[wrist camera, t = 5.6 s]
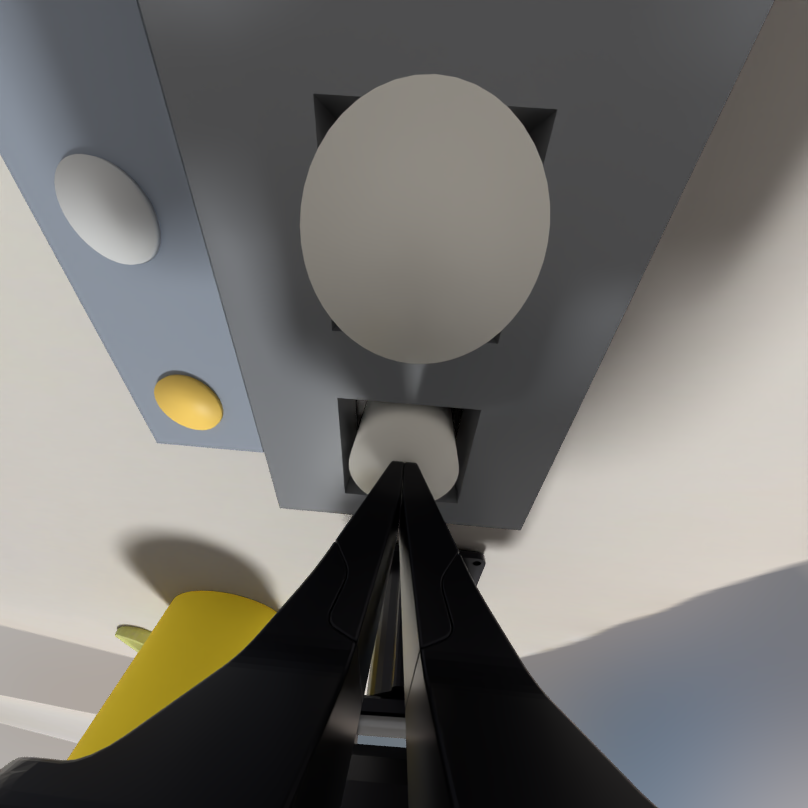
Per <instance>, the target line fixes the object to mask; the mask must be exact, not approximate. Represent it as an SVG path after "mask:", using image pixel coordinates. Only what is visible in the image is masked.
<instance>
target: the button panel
mask: <svg viewBox="0 0 808 808" xmlns="http://www.w3.org/2000/svg"><path fill="white" fill-rule="evenodd" d="M138 1H139V5H140V8H141V12H142V15H143V19H144V23H145V26H146V30H147V33H148V37H149V41H150V44H151V48H152V51H153V55H154V58H155V62H156V66H157V69H158V73H159V76H160V80H161V84H162V87H163V91H164V94H165V98H166V101H167V105H168V109H169V112H170V116H171V119H172V123H173V127H174V130H175V134H176V137H177V141H178V144H179V148H180V152H181V155H182V159H183V162H184V166H185V170H186V173H187V177H188V180H189V184H190V187H191V191H192V195H193V198H194V202H195V205H196V209H197V213H198V216H199V220H200V223H201V227H202V230H203V234H204V238H205V241H206V245H207V248H208V252H209V256H210V259H211V263H212V266H213V270H214V273H215V277H216V281H217V284H218V288H219V291H220V295H221V299H222V302H223V306H224V309H225V313H226V316H227V320H228V324H229V327H230V331H231V334H232V338H233V342H234V345H235V349H236V352H237V356H238V359H239V363H240V367H241V370H242V374H243V377H244V381H245V385H246V388H247V392H248V395H249V399H250V402H251V406H252V410H253V413H254V417H255V420H256V424H257V428H258V431H259V435H260V438H261V442H262V446H263V449H264V453H265V456H266V460H267V463H268V467H269V471H270V474H271V478H272V481H273V485H274V489H275V492H276V496H277V499H278V503H279V506H280V508H286V509H296V510H307V511H318V512H329V513H339V514H350V515H354V513H355V512H356V511H357V509H358V508H359V506H360V505H361V504H362V502H363V501H364V499H365V498H366V496H367V495H368V494H366V493H365V492H364V491H363V490H361V489H360V488H359V487H358V485H357V484H356V483H355V481H354V480H353V478H352V476H351V473H350V470H349V458H350V454H351V451H352V448H353V445H354V441H355V438H356V435H357V421H356V399H357V400H369V401H381V402H392V403H404V404H416V405H428V406H440V407H451V408H463V410H462V415H461V420H460V424H459V429H458V434H457V439H456V449H457V456H458V464H459V473H458V477H457V480H456V482H455V484H454V486H453V487H452V488H451V489H450V490H449V491H448V492H447V493H446V494H445V495H444V496H442V497H440V498H439V499H437V500H435V502H436V504H437V506H438V508H439V510H440V512H441V515H442V517H443V519H444V521H445V523H447V524H458V525H469V526H479V527H490V528H501V529H512V530H521V528H522V526H523V524H524V522H525V520H526V518H527V516H528V514H529V512H530V510H531V508H532V505H533V503H534V501H535V499H536V497H537V495H538V493H539V491H540V489H541V487H542V485H543V482H544V480H545V478H546V476H547V474H548V472H549V470H550V468H551V466H552V464H553V462H554V460H555V457H556V455H557V453H558V451H559V449H560V447H561V445H562V443H563V441H564V439H565V437H566V434H567V432H568V430H569V428H570V426H571V424H572V422H573V420H574V418H575V416H576V414H577V412H578V409H579V407H580V405H581V403H582V401H583V399H584V397H585V395H586V393H587V391H588V389H589V387H590V384H591V382H592V380H593V378H594V376H595V374H596V372H597V370H598V368H599V366H600V364H601V361H602V359H603V357H604V355H605V353H606V351H607V349H608V347H609V345H610V343H611V341H612V339H613V336H614V334H615V332H616V330H617V328H618V326H619V324H620V322H621V320H622V318H623V316H624V313H625V311H626V309H627V307H628V305H629V303H630V301H631V299H632V297H633V295H634V293H635V291H636V288H637V286H638V284H639V282H640V280H641V278H642V276H643V274H644V272H645V270H646V268H647V266H648V263H649V261H650V259H651V257H652V255H653V253H654V251H655V249H656V247H657V245H658V243H659V240H660V238H661V236H662V234H663V232H664V230H665V228H666V226H667V224H668V222H669V220H670V218H671V215H672V213H673V211H674V209H675V207H676V205H677V203H678V201H679V199H680V197H681V195H682V193H683V190H684V188H685V186H686V184H687V182H688V180H689V178H690V176H691V174H692V172H693V170H694V167H695V165H696V163H697V161H698V159H699V157H700V155H701V153H702V151H703V149H704V147H705V145H706V142H707V140H708V138H709V136H710V134H711V132H712V130H713V128H714V126H715V124H716V122H717V119H718V117H719V115H720V113H721V111H722V109H723V107H724V105H725V103H726V101H727V99H728V97H729V94H730V92H731V90H732V88H733V86H734V84H735V82H736V80H737V78H738V76H739V74H740V72H741V69H742V67H743V65H744V63H745V61H746V59H747V57H748V55H749V53H750V51H751V49H752V46H753V44H754V42H755V40H756V38H757V36H758V34H759V32H760V30H761V28H762V26H763V24H764V21H765V19H766V17H767V15H768V13H769V11H770V9H771V7H772V5H773V3H774V1H775V0H138ZM423 74H439V75H445V76H451V77H457V78H460V79H462V80H465V81H468V82H471V83H473V84H476V85H478V86H480V87H481V88H483V89H485V90H486V91H488V92H490V93H491V94H493V95H494V96H496V97H497V98H498V99H499V100H500V101H501V102H503V103H504V104H505V105H506V106H507V107H508V108H509V109H510V110H511V111H512V112H513V113H514V114H515V116H516V117H517V118H518V119H519V120H520V122H521V123H522V124H523V125H524V127H525V129H526V130H527V132H528V134H529V135H530V137H531V139H532V141H533V142H534V144H535V146H536V149H537V151H538V154H539V156H540V159H541V161H542V164H543V168H544V172H545V176H546V179H547V183H548V191H549V199H550V229H549V237H548V245H547V249H546V253H545V257H544V262H543V264H542V267H541V270H540V273H539V276H538V278H537V281H536V283H535V285H534V287H533V289H532V291H531V293H530V295H529V296H528V298H527V300H526V301H525V303H524V304H523V306H522V308H521V309H520V310H519V312H518V313H517V314H516V315H515V317H514V318H513V319H512V320H511V322H510V323H509V324H508V325H507V326H506V327H505V328H504V329H503V330H502V331H501V332H500V333H498V334H497V335H496V336H495V337H493V338H492V339H491V340H490V341H488V342H487V343H485V344H484V345H482V346H481V347H479V348H477V349H476V350H474V351H472V352H470V353H467V354H465V355H463V356H460V357H457V358H455V359H452V360H448V361H443V362H439V363H429V364H411V363H404V362H398V361H394V360H391V359H387V358H384V357H382V356H379V355H377V354H374V353H373V352H371V351H369V350H367V349H365V348H363V347H362V346H360V345H359V344H358V343H356V342H355V341H353V340H352V339H351V338H350V337H349V336H347V335H346V334H345V333H344V332H343V331H342V330H341V329H340V328H339V327H338V326H337V325H336V323H335V322H334V321H333V320H332V319H331V318H330V316H329V315H328V313H327V312H326V310H325V309H324V308H323V306H322V304H321V302H320V301H319V299H318V297H317V295H316V293H315V291H314V289H313V286H312V284H311V281H310V279H309V276H308V273H307V269H306V266H305V262H304V258H303V252H302V246H301V235H300V212H301V202H302V196H303V190H304V185H305V182H306V178H307V175H308V171H309V168H310V165H311V163H312V161H313V158H314V156H315V154H316V151H317V149H318V147H319V146H320V144H321V142H322V141H323V139H324V137H325V136H326V134H327V132H328V131H329V129H330V128H331V127H332V125H333V124H334V123H335V122H336V121H337V119H338V118H339V117H340V116H341V114H342V113H343V112H344V111H346V110H347V109H348V108H349V107H350V106H351V105H352V104H353V103H354V102H355V101H357V100H358V99H359V98H361V97H362V96H364V95H365V94H367V93H368V92H370V91H371V90H373V89H374V88H376V87H378V86H381V85H383V84H385V83H388V82H390V81H392V80H395V79H399V78H403V77H408V76H412V75H423ZM400 509H401V507H400Z"/></svg>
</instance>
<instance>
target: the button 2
mask: <svg viewBox="0 0 808 808" xmlns="http://www.w3.org/2000/svg"><path fill="white" fill-rule="evenodd" d="M391 461H402V462H404V463H405V462H414V463H417V464H418V466H419V468H420V470H421V472H422V474H423V477H424V479H425V481H426V483H427V485H428V487H429V489H430V491H431V493H432V496H433V498H434V500H437V499H439V498H440V497H442V496H444V495H445V494H446V493H447V492H448V491H449V490H450V489H451V488H452V487H453V486H454V484H455V482H456V480H457V477H458V473H459V464H458V456H457V449H456V442H455V435H454V427H453V420H452V413H451V408H450V407H440V406H428V405H416V404H404V403H392V402H381V401H369V400H368V401H367V404H366V407H365V410H364V413H363V416H362V420H361V423H360V426H359V429H358V432H357V435H356V438H355V441H354V445H353V448H352V451H351V454H350V458H349V470H350V473H351V476H352V478H353V480H354V481H355V483H356V484H357V485H358V487H359V488H360V489H361V490H363V491H364V492H365V493H366V494H369V492H370V491H371V489H372V488H373V487H374V485H375V484H376V482H377V481H378V479H379V478H380V477H381V475H382V474H383V472H384V471H385V470H386V468H387V467H388V465H389V464H390V462H391ZM403 473H404V471H403ZM402 485H403V483H402ZM401 497H402V495H401Z"/></svg>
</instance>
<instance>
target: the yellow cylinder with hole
mask: <svg viewBox="0 0 808 808" xmlns="http://www.w3.org/2000/svg"><path fill="white" fill-rule="evenodd" d="M276 613H277V612H276V611H275V610H273V609H271V608H270V607H268V606H266V605H264V604H261V603H259V602H257V601H254V600H251V599H248V598H245V597H242V596H238V595H234V594H229V593H224V592H216V591H191V592H186V593H182V594H180V595H178V596H176V597H175V598H174V599H173V601H172V602H171V604H170V605H169V607H168V608H167V610H166V611H165V613H164V614H163V616H162V617H161V619H160V620H159V622H158V623H157V625H156V626H155V628H154V629H153V631H152V632H151V634H150V635H149V637H148V639H147V640H146V642H145V643H144V645H143V646H142V648H141V649H140V651H139V652H138V654H137V655H136V657H135V658H134V660H133V661H132V663H131V664H130V666H129V667H128V669H127V670H126V672H125V673H124V675H123V676H122V678H121V679H120V681H119V682H118V684H117V685H116V687H115V688H114V690H113V691H112V693H111V694H110V696H109V697H108V699H107V700H106V702H105V703H104V705H103V706H102V708H101V709H100V711H99V713H98V714H97V715H96V717H95V718H94V720H93V721H92V723H91V724H90V726H89V727H88V729H87V730H86V732H85V734H84V735H83V737H82V738H81V740H80V741H79V743H78V744H77V746H76V747H75V749H74V750H73V752H72V753H71V755H70V756H69V758H68V759H67V760H75V759H78V758H82V757H85V756H88V755H91V754H93V753H95V752H97V751H99V750H101V749H103V748H105V747H107V746H109V745H111V744H112V743H114V742H115V741H117V740H119V739H120V738H122V737H123V736H125V735H126V734H128V733H129V732H131V731H132V730H133V729H135V728H136V727H138V726H139V725H140V724H142V723H143V722H145V721H146V720H148V719H149V718H150V717H152V716H153V715H155V714H156V713H157V712H159V711H160V710H162V709H163V708H164V707H166V706H167V705H169V704H170V703H172V702H173V701H174V700H176V699H177V698H179V697H180V696H181V695H183V694H184V693H186V692H187V691H188V690H190V689H191V688H193V687H194V686H196V685H197V684H198V683H200V682H201V681H203V680H204V679H205V678H207V677H208V676H210V675H211V674H213V673H214V672H215V671H217V670H218V669H220V668H221V667H222V666H224V665H225V664H226V663H228V662H229V661H230V660H231V659H233V658H234V657H235V656H236V655H237V654H239V653H240V652H241V651H242V650H243V649H244V648H245V647H246V646H247V645H248V644H249V643H250V642H251V641H252V640H253V639H254V638H255V637H256V635H257V634H258V633H259V632H260V631H261V630H262V629H263V628H264V627H265V625H266V624H267V623H268V622H269V621H270V620H271V619H272V617H273V616H274V615H275V614H276Z"/></svg>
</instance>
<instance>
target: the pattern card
mask: <svg viewBox="0 0 808 808" xmlns="http://www.w3.org/2000/svg"><path fill="white" fill-rule="evenodd" d="M0 155H1V156H2V158H3V160H4V162H5V164H6V166H7V167H8V169H9V171H10V173H11V175H12V177H13V178H14V180H15V182H16V184H17V186H18V188H19V190H20V191H21V193H22V195H23V197H24V199H25V201H26V202H27V204H28V206H29V208H30V210H31V212H32V213H33V215H34V217H35V219H36V221H37V223H38V224H39V226H40V228H41V230H42V232H43V234H44V236H45V237H46V239H47V241H48V243H49V245H50V247H51V248H52V250H53V252H54V254H55V256H56V258H57V259H58V261H59V263H60V265H61V267H62V269H63V271H64V272H65V274H66V276H67V278H68V280H69V282H70V283H71V285H72V287H73V289H74V291H75V293H76V294H77V296H78V298H79V300H80V302H81V304H82V306H83V307H84V309H85V311H86V313H87V315H88V317H89V318H90V320H91V322H92V324H93V326H94V328H95V329H96V331H97V333H98V335H99V337H100V339H101V341H102V342H103V344H104V346H105V348H106V350H107V352H108V353H109V355H110V357H111V359H112V361H113V363H114V364H115V366H116V368H117V370H118V372H119V374H120V375H121V377H122V379H123V381H124V383H125V385H126V387H127V388H128V390H129V392H130V394H131V396H132V398H133V399H134V401H135V403H136V405H137V407H138V409H139V410H140V412H141V414H142V416H143V418H144V420H145V422H146V423H147V425H148V427H149V429H150V431H151V433H152V434H153V436H154V438H155V440H156V442H157V443H162V444H173V445H185V446H196V447H207V448H218V449H230V450H241V451H252V452H264V449H263V446H262V442H261V438H260V435H259V431H258V428H257V424H256V420H255V417H254V413H253V410H252V406H251V402H250V399H249V395H248V392H247V388H246V385H245V381H244V377H243V374H242V370H241V367H240V363H239V359H238V356H237V352H236V349H235V345H234V342H233V338H232V334H231V331H230V327H229V324H228V320H227V316H226V313H225V309H224V306H223V302H222V299H221V295H220V291H219V288H218V284H217V281H216V277H215V273H214V270H213V266H212V263H211V259H210V256H209V252H208V248H207V245H206V241H205V238H204V234H203V230H202V227H201V223H200V220H199V216H198V213H197V209H196V205H195V202H194V198H193V195H192V191H191V187H190V184H189V180H188V177H187V173H186V170H185V166H184V162H183V159H182V155H181V152H180V148H179V144H178V141H177V137H176V134H175V130H174V127H173V123H172V119H171V116H170V112H169V109H168V105H167V101H166V98H165V94H164V91H163V87H162V84H161V80H160V76H159V73H158V69H157V66H156V62H155V58H154V55H153V51H152V48H151V44H150V41H149V37H148V33H147V30H146V26H145V23H144V19H143V15H142V12H141V8H140V5H139V1H138V0H0Z"/></svg>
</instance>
